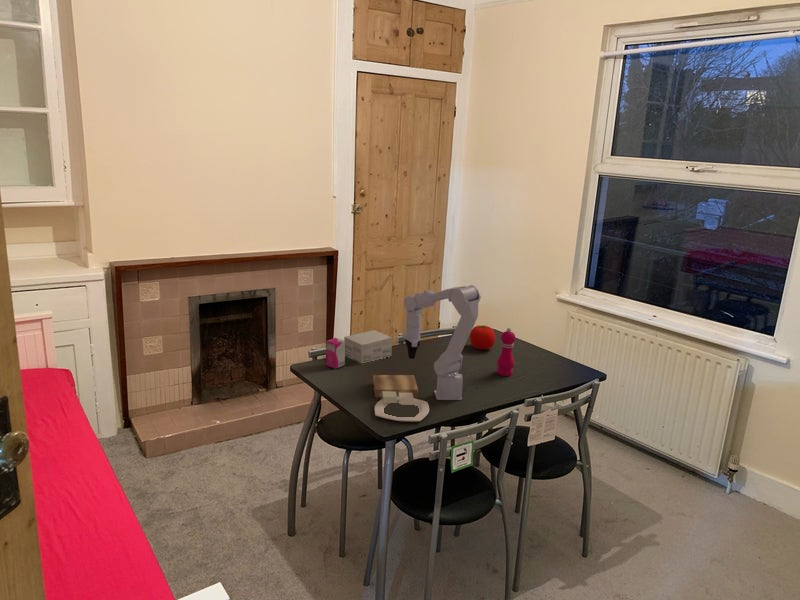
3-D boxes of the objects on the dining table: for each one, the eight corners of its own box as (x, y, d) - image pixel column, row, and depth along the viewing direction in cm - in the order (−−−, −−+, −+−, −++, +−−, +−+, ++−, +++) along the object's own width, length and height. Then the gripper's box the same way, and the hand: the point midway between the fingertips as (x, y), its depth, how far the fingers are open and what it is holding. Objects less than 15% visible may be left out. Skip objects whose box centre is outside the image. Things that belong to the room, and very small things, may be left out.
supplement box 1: (335, 362, 255) (335, 337, 252) (345, 366, 251) (345, 340, 248) (325, 366, 251) (325, 340, 248) (335, 369, 247) (335, 343, 244)
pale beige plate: (424, 428, 201) (424, 423, 201) (368, 421, 205) (368, 416, 204) (432, 405, 219) (432, 400, 219) (381, 398, 223) (381, 393, 222)
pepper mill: (493, 374, 250) (497, 328, 245) (499, 368, 256) (503, 324, 251) (510, 377, 247) (514, 331, 241) (515, 372, 253) (520, 327, 248)
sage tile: (395, 397, 220) (395, 391, 219) (396, 403, 215) (397, 397, 214) (381, 397, 219) (382, 391, 219) (382, 403, 214) (383, 397, 214)
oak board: (413, 383, 237) (413, 375, 236) (417, 398, 223) (418, 389, 222) (373, 383, 235) (373, 375, 234) (374, 398, 222) (375, 389, 221)
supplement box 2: (373, 348, 274) (374, 329, 272) (391, 357, 265) (392, 337, 262) (343, 356, 264) (343, 336, 261) (361, 365, 254) (361, 344, 252)
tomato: (490, 343, 288) (492, 322, 285) (496, 353, 275) (498, 330, 272) (466, 343, 287) (468, 321, 284) (471, 352, 274) (473, 330, 271)
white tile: (412, 398, 219) (412, 392, 219) (413, 404, 215) (413, 398, 214) (398, 398, 219) (398, 392, 218) (399, 404, 214) (399, 398, 214)
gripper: (401, 319, 239) (399, 351, 243) (404, 331, 225) (403, 364, 229) (418, 319, 240) (417, 351, 243) (423, 331, 226) (421, 364, 229)
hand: (411, 358), depth 236 cm, fingers closed
